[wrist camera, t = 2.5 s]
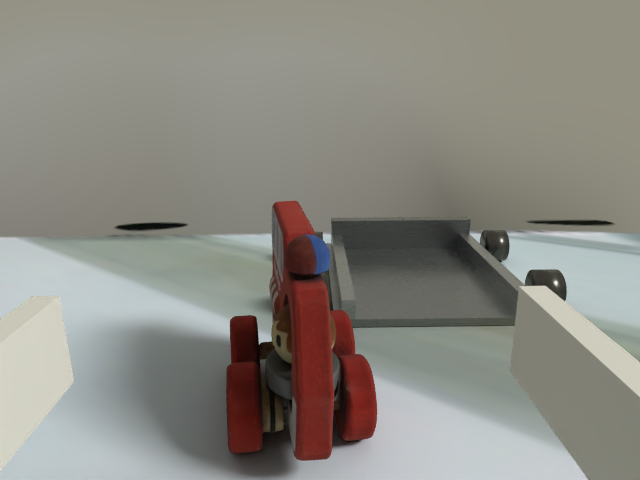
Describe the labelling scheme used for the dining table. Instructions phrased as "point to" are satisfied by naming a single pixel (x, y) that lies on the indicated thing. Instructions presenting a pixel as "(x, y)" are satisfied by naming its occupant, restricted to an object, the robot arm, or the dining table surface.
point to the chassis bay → (424, 273)
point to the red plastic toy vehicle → (298, 355)
